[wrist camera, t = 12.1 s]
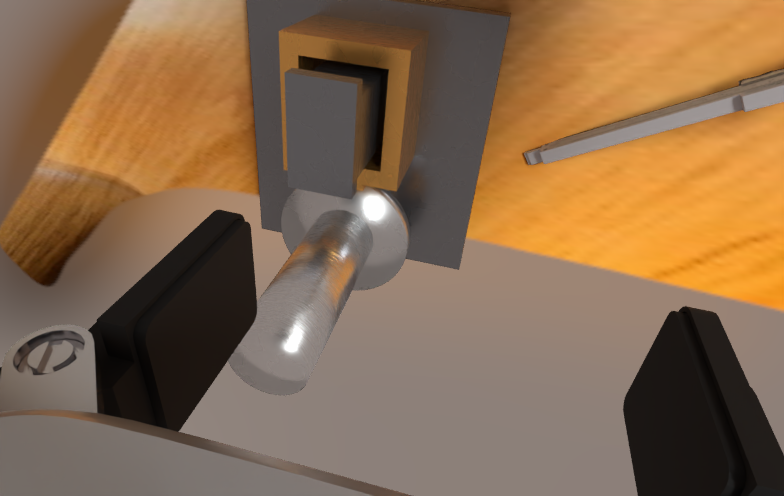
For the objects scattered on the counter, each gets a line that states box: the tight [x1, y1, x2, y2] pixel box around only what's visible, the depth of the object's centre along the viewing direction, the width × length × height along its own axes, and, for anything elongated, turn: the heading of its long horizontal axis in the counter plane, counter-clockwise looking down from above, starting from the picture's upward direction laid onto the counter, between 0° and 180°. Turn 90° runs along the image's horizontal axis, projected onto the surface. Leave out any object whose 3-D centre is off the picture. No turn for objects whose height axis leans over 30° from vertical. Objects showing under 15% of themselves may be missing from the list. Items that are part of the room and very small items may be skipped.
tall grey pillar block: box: [285, 60, 389, 200], centre depth 33 cm, size 7×4×10 cm, turn 175°
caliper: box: [524, 69, 784, 165], centre depth 32 cm, size 20×1×6 cm, turn 118°
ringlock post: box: [228, 0, 511, 395], centre depth 33 cm, size 21×18×20 cm
